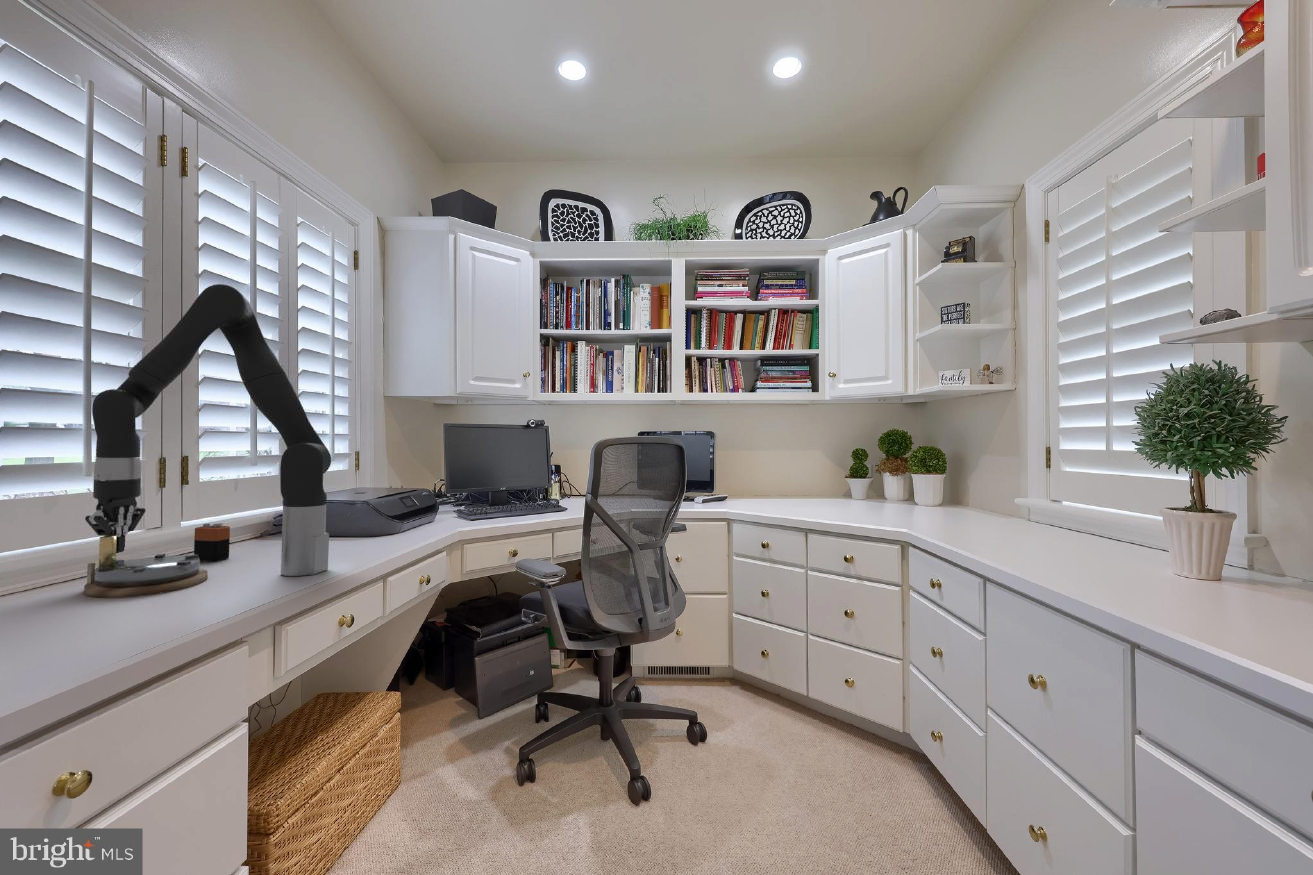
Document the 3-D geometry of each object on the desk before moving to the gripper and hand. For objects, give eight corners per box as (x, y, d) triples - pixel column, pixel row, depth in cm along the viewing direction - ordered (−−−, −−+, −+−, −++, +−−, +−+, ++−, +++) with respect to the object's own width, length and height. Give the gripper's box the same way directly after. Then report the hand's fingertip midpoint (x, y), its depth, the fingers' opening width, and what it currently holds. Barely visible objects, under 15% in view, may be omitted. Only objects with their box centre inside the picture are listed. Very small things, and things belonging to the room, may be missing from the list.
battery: (215, 562, 140) (216, 525, 140) (192, 561, 140) (193, 524, 140) (230, 558, 144) (231, 522, 144) (207, 557, 145) (208, 522, 145)
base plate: (229, 574, 128) (229, 550, 128) (154, 598, 108) (155, 570, 108) (145, 573, 127) (146, 549, 127) (54, 597, 107) (55, 568, 107)
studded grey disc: (170, 565, 128) (172, 526, 128) (216, 572, 123) (218, 531, 123) (76, 581, 112) (77, 537, 112) (124, 590, 107) (126, 544, 107)
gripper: (125, 474, 124) (123, 546, 124) (70, 479, 111) (68, 559, 111) (160, 475, 125) (158, 546, 125) (110, 479, 112) (108, 559, 112)
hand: (115, 552), depth 118 cm, fingers closed
